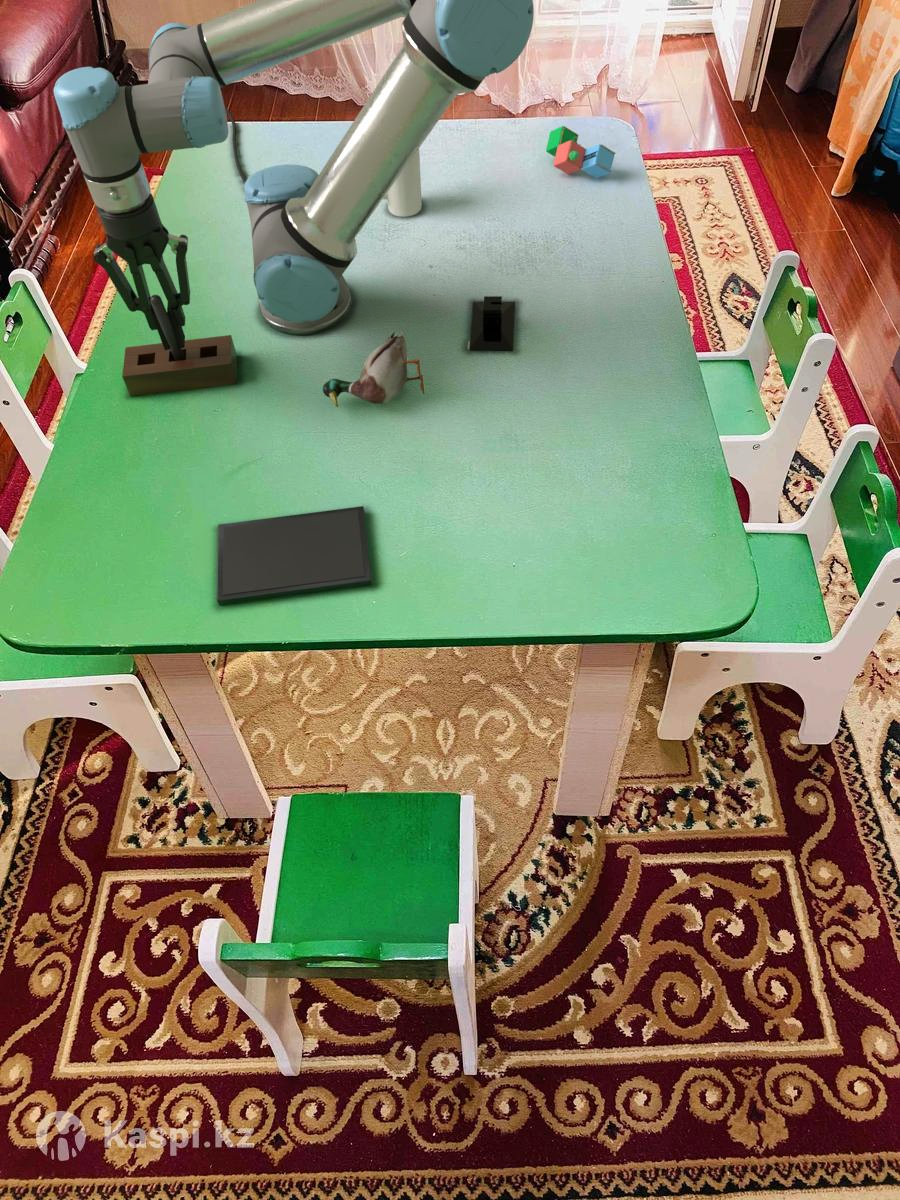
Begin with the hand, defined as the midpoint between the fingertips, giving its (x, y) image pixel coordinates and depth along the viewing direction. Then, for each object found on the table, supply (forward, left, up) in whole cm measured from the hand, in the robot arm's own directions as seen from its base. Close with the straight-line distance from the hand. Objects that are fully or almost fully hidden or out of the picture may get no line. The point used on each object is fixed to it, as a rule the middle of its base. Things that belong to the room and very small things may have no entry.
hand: (174, 343), depth 141 cm
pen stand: (0, 0, -6) cm, 6 cm away
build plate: (-3, +50, -6) cm, 50 cm away
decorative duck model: (+8, +30, -6) cm, 31 cm away
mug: (-40, +38, -6) cm, 55 cm away
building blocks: (-47, +74, -6) cm, 88 cm away
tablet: (+40, +16, -6) cm, 43 cm away
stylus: (0, 0, -5) cm, 5 cm away
